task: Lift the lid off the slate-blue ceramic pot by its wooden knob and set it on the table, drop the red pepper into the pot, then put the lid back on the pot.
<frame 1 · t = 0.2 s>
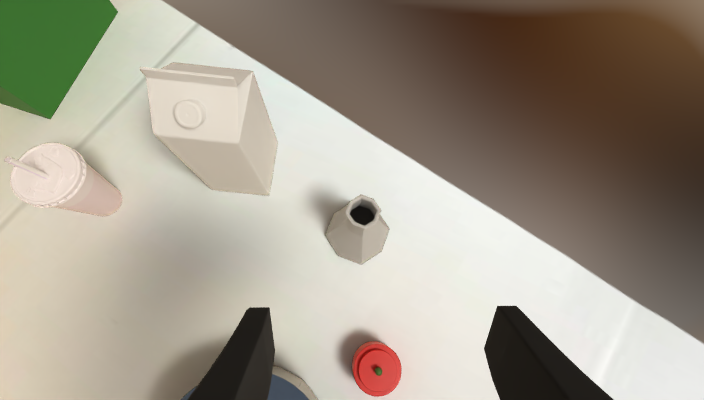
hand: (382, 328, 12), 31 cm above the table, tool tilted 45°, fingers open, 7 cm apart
red pepper: (373, 364, 40), on the table
smoothie: (107, 201, 44), on the table
flask: (357, 232, 45), on the table
milk carton: (246, 166, 46), on the table
hardback book: (61, 55, 50), on the table
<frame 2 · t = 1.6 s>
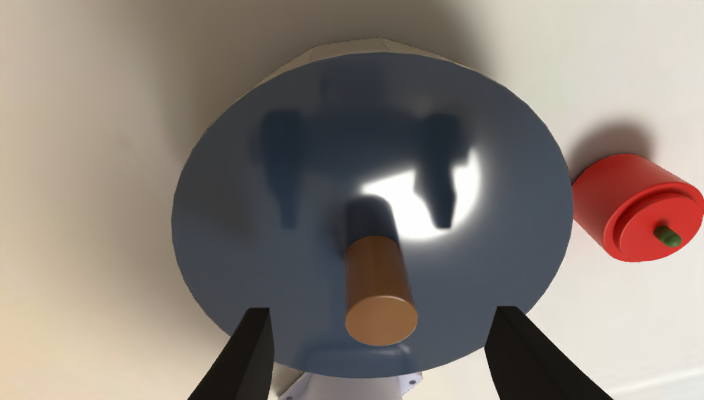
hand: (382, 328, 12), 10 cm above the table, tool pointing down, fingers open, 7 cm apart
lid: (372, 252, 15), point 6 cm above the table, touching pot
red pepper: (607, 190, 21), on the table
pot: (363, 180, 21), on the table
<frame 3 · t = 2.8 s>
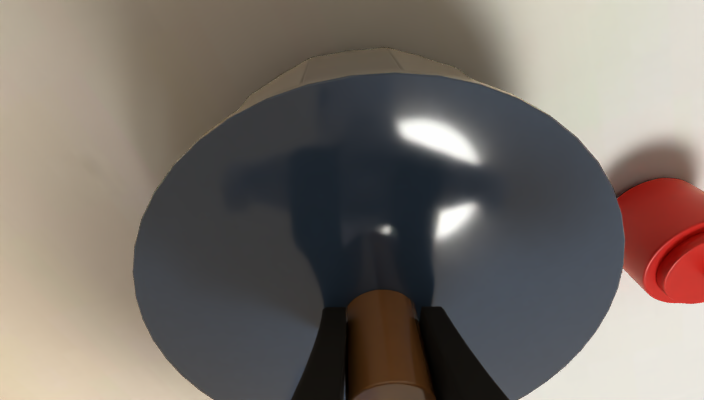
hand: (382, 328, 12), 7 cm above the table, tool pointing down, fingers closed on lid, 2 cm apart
lid: (378, 304, 13), point 6 cm above the table, touching gripper, pot
red pepper: (643, 217, 19), on the table
pot: (367, 208, 18), on the table
when the fingers open (2 cm above the table, at t = 7.6 s): lid stays where it is, point 1 cm above the table.
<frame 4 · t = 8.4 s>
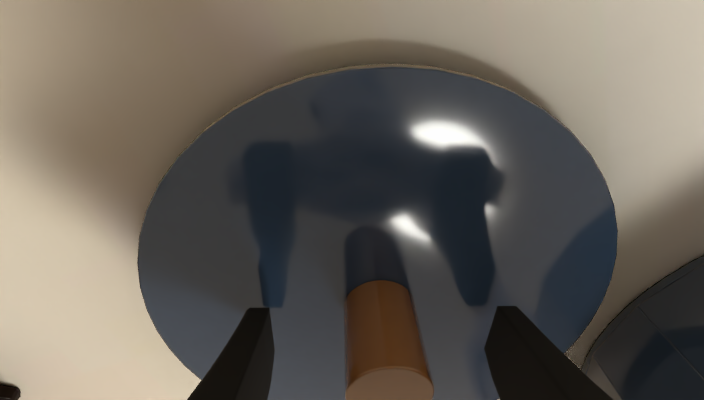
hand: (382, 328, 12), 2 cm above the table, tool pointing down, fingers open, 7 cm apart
lid: (377, 295, 13), point 1 cm above the table
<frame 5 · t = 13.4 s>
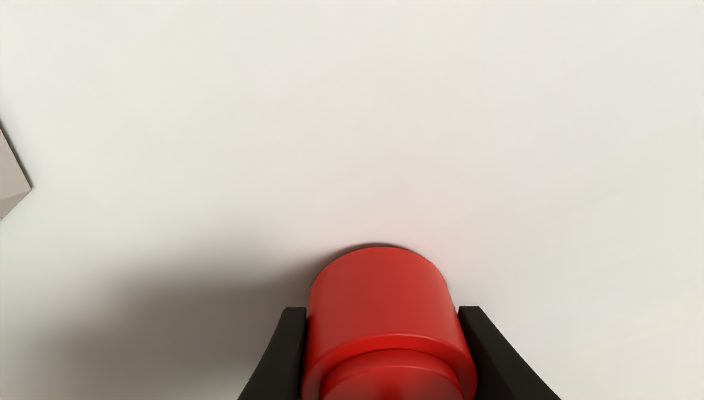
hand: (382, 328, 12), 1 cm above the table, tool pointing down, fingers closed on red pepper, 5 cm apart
red pepper: (377, 296, 13), on the table, touching gripper
when the fingers open (2 cm above the table, at t = 18.9 s): red pepper stays where it is, resting on pot.
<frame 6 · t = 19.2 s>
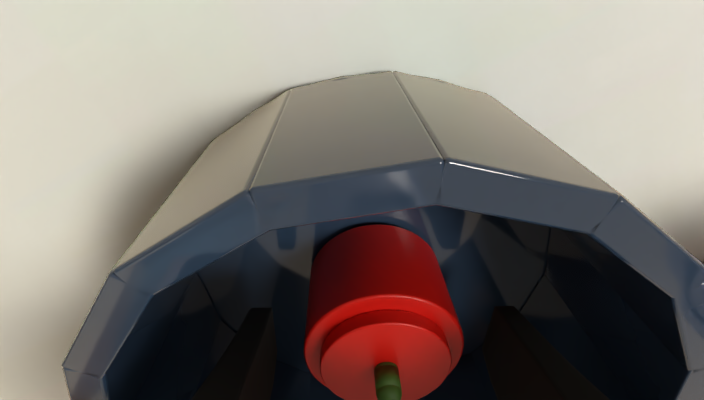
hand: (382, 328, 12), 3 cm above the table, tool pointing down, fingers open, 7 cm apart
red pepper: (374, 272, 14), resting on pot
pot: (373, 267, 14), on the table
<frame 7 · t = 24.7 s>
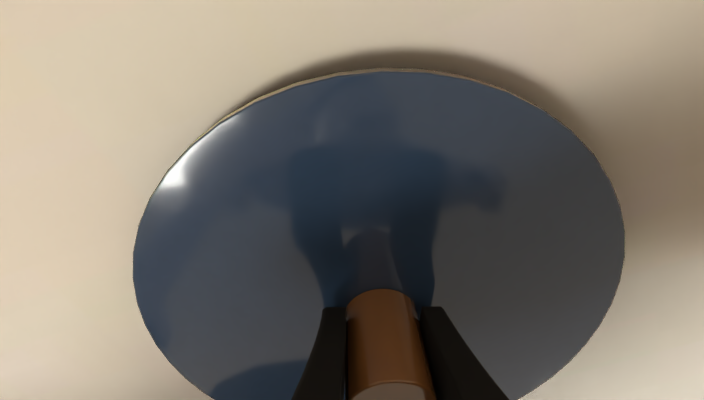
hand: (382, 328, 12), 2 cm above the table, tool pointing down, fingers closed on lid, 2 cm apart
lid: (378, 304, 13), point 1 cm above the table, touching gripper
when the fingers open (7 cm above the table, at t = 29.7 s): lid stays where it is, resting on pot.
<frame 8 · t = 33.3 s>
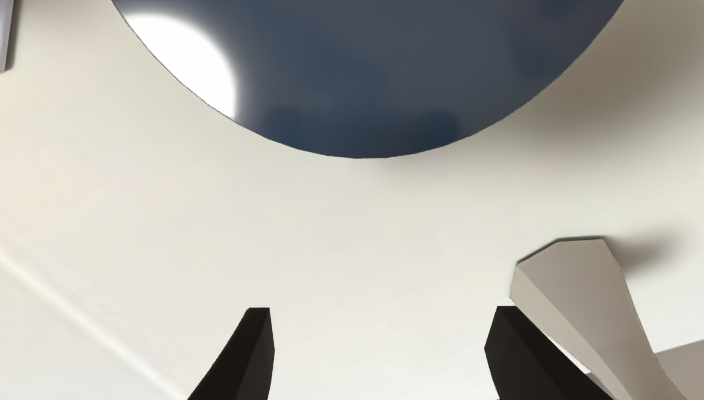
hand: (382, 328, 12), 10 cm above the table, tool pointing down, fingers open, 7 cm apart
flask: (559, 276, 25), on the table
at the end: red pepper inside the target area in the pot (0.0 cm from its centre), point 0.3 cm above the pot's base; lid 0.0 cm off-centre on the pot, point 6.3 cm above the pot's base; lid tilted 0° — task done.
